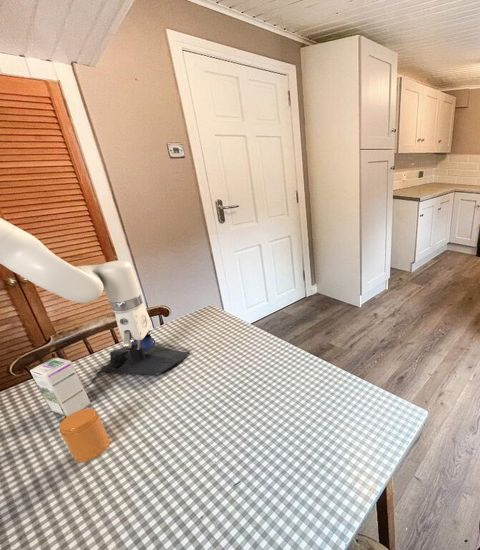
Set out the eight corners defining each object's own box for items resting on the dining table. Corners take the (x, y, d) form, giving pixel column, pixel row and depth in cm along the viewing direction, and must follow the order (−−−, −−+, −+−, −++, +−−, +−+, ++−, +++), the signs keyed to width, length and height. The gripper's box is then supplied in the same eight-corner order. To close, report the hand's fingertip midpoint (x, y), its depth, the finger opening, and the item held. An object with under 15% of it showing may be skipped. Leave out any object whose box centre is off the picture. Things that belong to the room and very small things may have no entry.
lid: (125, 348, 95) (124, 344, 94) (151, 338, 100) (150, 334, 99) (131, 357, 91) (130, 353, 90) (158, 347, 95) (157, 342, 95)
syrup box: (91, 403, 83) (72, 359, 77) (66, 420, 77) (44, 374, 72) (76, 398, 84) (56, 355, 79) (51, 415, 79) (28, 370, 73)
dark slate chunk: (155, 384, 89) (150, 371, 87) (97, 372, 94) (92, 360, 92) (194, 353, 103) (191, 342, 101) (142, 344, 108) (138, 333, 106)
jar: (67, 466, 66) (50, 434, 62) (82, 441, 71) (67, 411, 68) (102, 457, 68) (88, 426, 64) (114, 434, 73) (101, 404, 70)
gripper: (130, 314, 83) (148, 367, 89) (150, 288, 98) (164, 335, 105) (97, 318, 80) (118, 372, 87) (123, 292, 96) (139, 339, 102)
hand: (143, 352), depth 96 cm, fingers closed on lid, 6 cm apart
